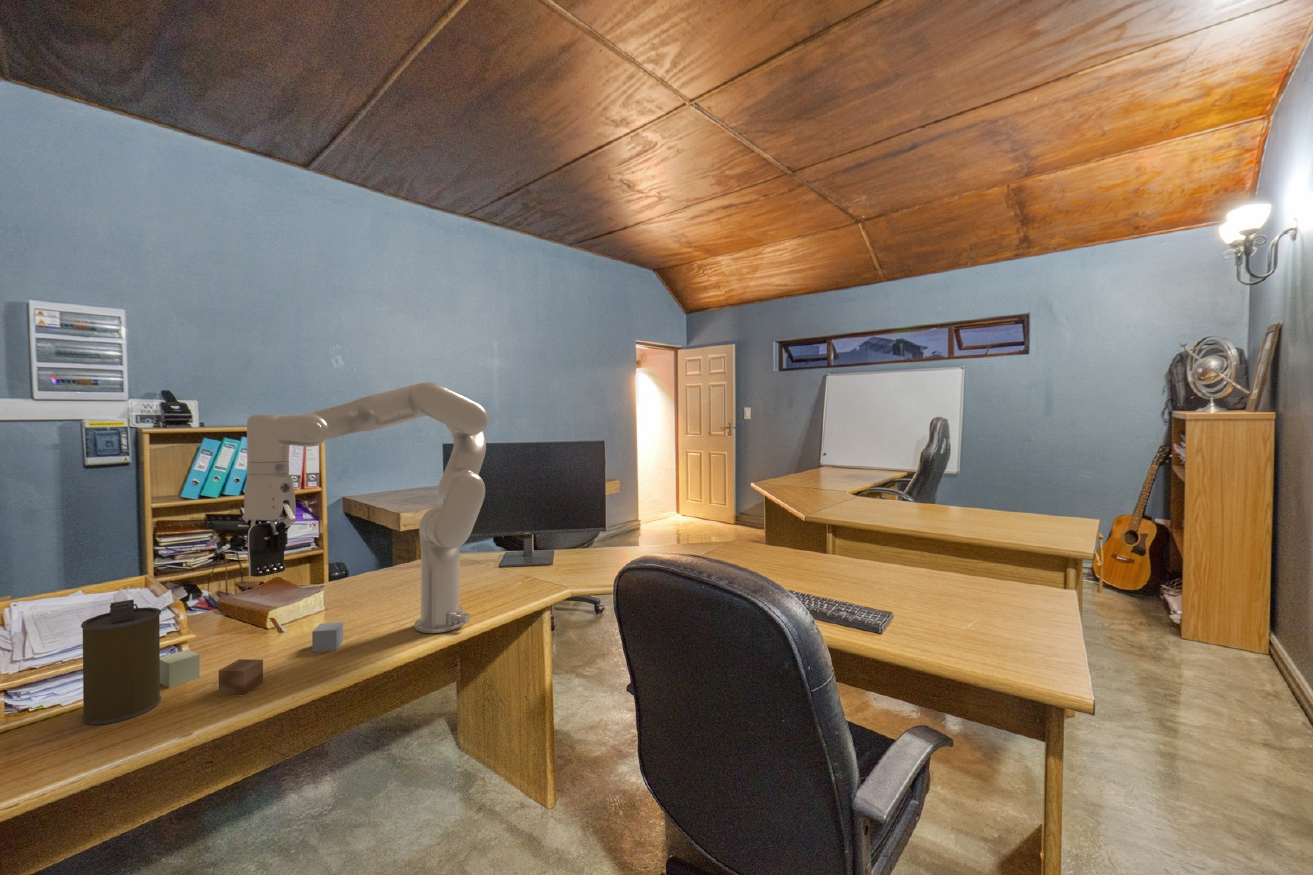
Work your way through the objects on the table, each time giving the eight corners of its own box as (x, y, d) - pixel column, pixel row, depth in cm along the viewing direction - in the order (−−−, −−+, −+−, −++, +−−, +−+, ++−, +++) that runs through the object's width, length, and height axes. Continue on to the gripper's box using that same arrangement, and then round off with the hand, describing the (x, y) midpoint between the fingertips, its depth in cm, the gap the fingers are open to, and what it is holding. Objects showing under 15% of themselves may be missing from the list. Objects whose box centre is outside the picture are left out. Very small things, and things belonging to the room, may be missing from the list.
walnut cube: (263, 683, 109) (262, 659, 109) (243, 696, 104) (243, 671, 104) (239, 683, 109) (238, 659, 109) (218, 695, 104) (218, 670, 104)
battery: (256, 579, 114) (255, 526, 114) (246, 577, 116) (245, 525, 116) (290, 571, 121) (290, 521, 120) (281, 569, 122) (280, 520, 122)
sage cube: (199, 677, 111) (199, 654, 111) (169, 688, 106) (169, 663, 106) (187, 672, 113) (187, 649, 113) (157, 682, 109) (157, 658, 109)
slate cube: (343, 642, 130) (343, 622, 130) (336, 650, 125) (336, 629, 125) (320, 644, 129) (320, 623, 129) (312, 652, 124) (312, 631, 124)
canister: (164, 709, 99) (164, 602, 98) (82, 732, 91) (81, 617, 90) (157, 689, 106) (157, 589, 105) (80, 709, 98) (80, 602, 98)
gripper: (313, 469, 119) (313, 549, 120) (256, 467, 124) (257, 544, 124) (281, 472, 112) (282, 557, 113) (222, 469, 117) (223, 551, 117)
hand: (269, 549), depth 118 cm, fingers closed on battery, 4 cm apart
